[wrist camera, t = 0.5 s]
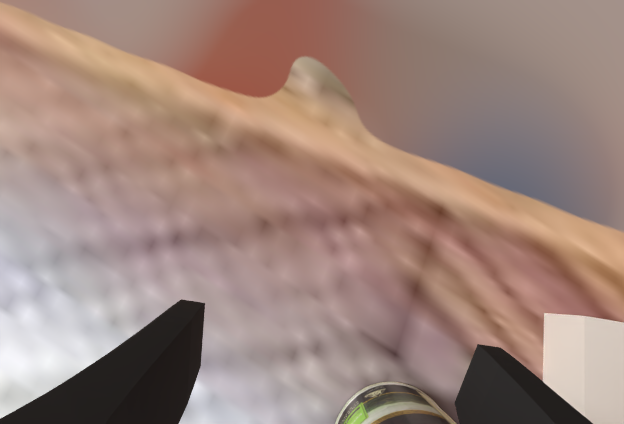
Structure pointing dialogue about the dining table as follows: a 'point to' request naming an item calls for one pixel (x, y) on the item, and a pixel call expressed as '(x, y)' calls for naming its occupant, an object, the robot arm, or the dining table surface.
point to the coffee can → (392, 406)
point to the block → (586, 365)
